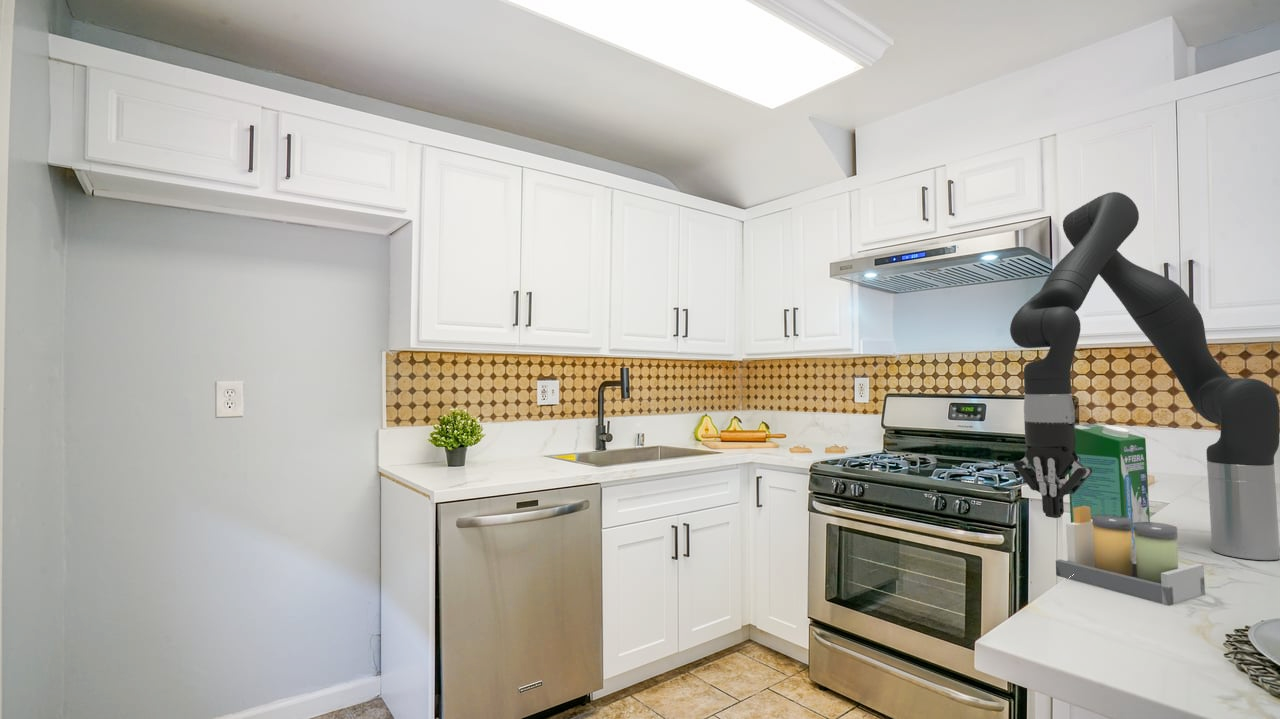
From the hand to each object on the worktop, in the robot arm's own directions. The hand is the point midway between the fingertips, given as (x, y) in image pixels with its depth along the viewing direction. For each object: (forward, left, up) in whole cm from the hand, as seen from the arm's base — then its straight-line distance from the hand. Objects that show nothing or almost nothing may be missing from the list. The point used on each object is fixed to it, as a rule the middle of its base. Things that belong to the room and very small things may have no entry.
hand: (1053, 516), depth 110 cm
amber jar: (0, +9, -9) cm, 13 cm away
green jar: (0, +15, -9) cm, 18 cm away
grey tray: (0, +12, -10) cm, 15 cm away
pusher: (0, +5, -8) cm, 10 cm away
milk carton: (-16, 0, -10) cm, 19 cm away
